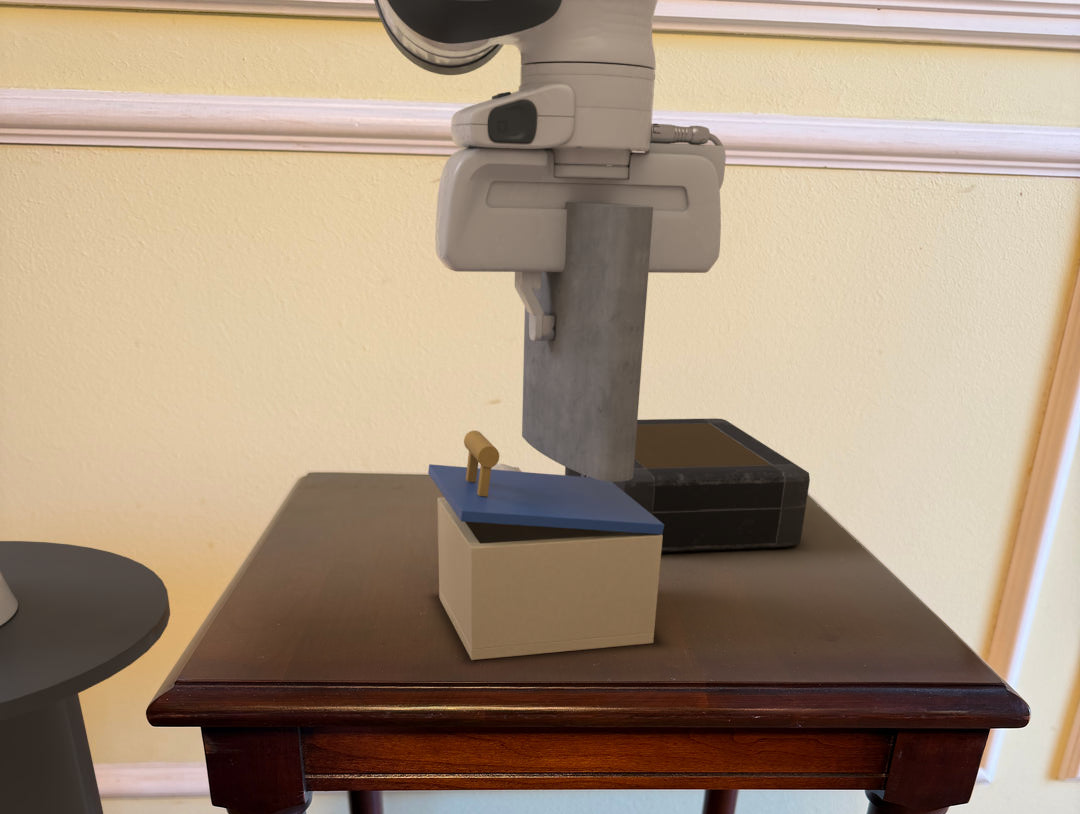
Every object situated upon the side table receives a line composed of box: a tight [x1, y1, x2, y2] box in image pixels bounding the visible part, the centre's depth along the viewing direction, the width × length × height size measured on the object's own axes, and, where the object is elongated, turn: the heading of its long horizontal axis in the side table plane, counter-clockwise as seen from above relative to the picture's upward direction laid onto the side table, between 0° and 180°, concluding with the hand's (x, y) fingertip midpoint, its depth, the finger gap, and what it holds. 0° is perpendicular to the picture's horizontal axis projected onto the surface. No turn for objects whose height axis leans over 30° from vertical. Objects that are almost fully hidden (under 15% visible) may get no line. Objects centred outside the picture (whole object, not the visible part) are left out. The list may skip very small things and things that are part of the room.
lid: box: [427, 430, 664, 534], centre depth 79 cm, size 16×13×5 cm
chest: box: [437, 496, 663, 661], centre depth 83 cm, size 15×13×9 cm
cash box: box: [564, 418, 811, 554], centre depth 109 cm, size 25×20×8 cm
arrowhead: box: [478, 463, 523, 472], centre depth 121 cm, size 7×2×10 cm
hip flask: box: [521, 164, 653, 482], centre depth 74 cm, size 16×4×20 cm, turn 23°
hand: (576, 339), depth 75 cm, fingers closed on hip flask, 4 cm apart
